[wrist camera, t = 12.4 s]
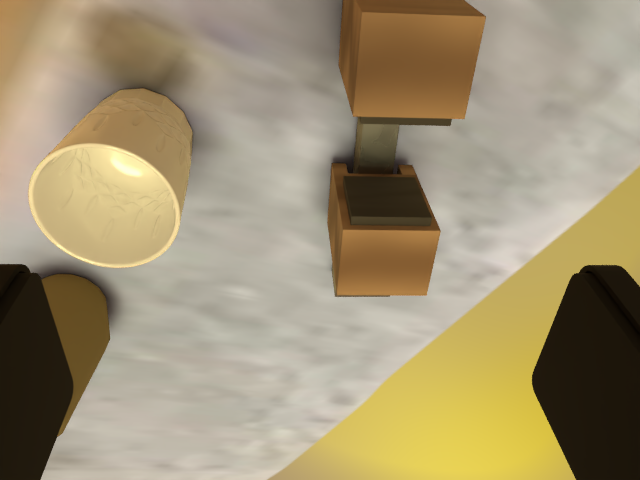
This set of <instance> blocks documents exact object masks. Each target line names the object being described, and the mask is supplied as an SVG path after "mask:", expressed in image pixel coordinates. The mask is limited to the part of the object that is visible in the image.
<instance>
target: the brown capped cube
mask: <svg viewBox="0 0 640 480" xmlns="http://www.w3.org/2000/svg"><path fill="white" fill-rule="evenodd" d="M327 223H328V230H329V238H330V246H331V254H332V261H333V269H334V277H335V285H336V293H337V295H427V291H428V286H429V282H430V277H431V273H432V268H433V263H434V259H435V254H436V250H437V245H438V241H439V236H440V228H439V226H438V224H437V221H436V219H435V217H434V215H433V212H432V210H431V208H430V205H429V203H428V201H427V198H426V196H425V194H424V191H423V189H422V187H421V185H420V182H419V180H418V178H417V175H416V173H415V171H414V168H413V166H412V165H398V170H397V174H350V173H348V171H347V167H346V164H344V163H332V168H331V181H330V195H329V208H328V222H327Z"/></svg>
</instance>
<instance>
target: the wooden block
mask: <svg viewBox="0 0 640 480" xmlns="http://www.w3.org/2000/svg"><path fill="white" fill-rule="evenodd" d="M485 19H486V16H484V15H483V14H482V13H480V12H479V11H478V10H476V9H475V8H474V7H472V6H471V5H470V4H468V3H467V2H466V1H464V0H343V6H342V21H341V36H340V51H339V69H340V72H341V76H342V79H343V83H344V86H345V90H346V93H347V97H348V100H349V104H350V107H351V111H352V114H353V116H356V117H359V120H360V124H389V125H436V126H450V125H451V120H452V119H465V114H466V109H467V104H468V100H469V95H470V90H471V86H472V81H473V76H474V71H475V67H476V62H477V57H478V52H479V48H480V43H481V38H482V33H483V29H484V24H485Z"/></svg>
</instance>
